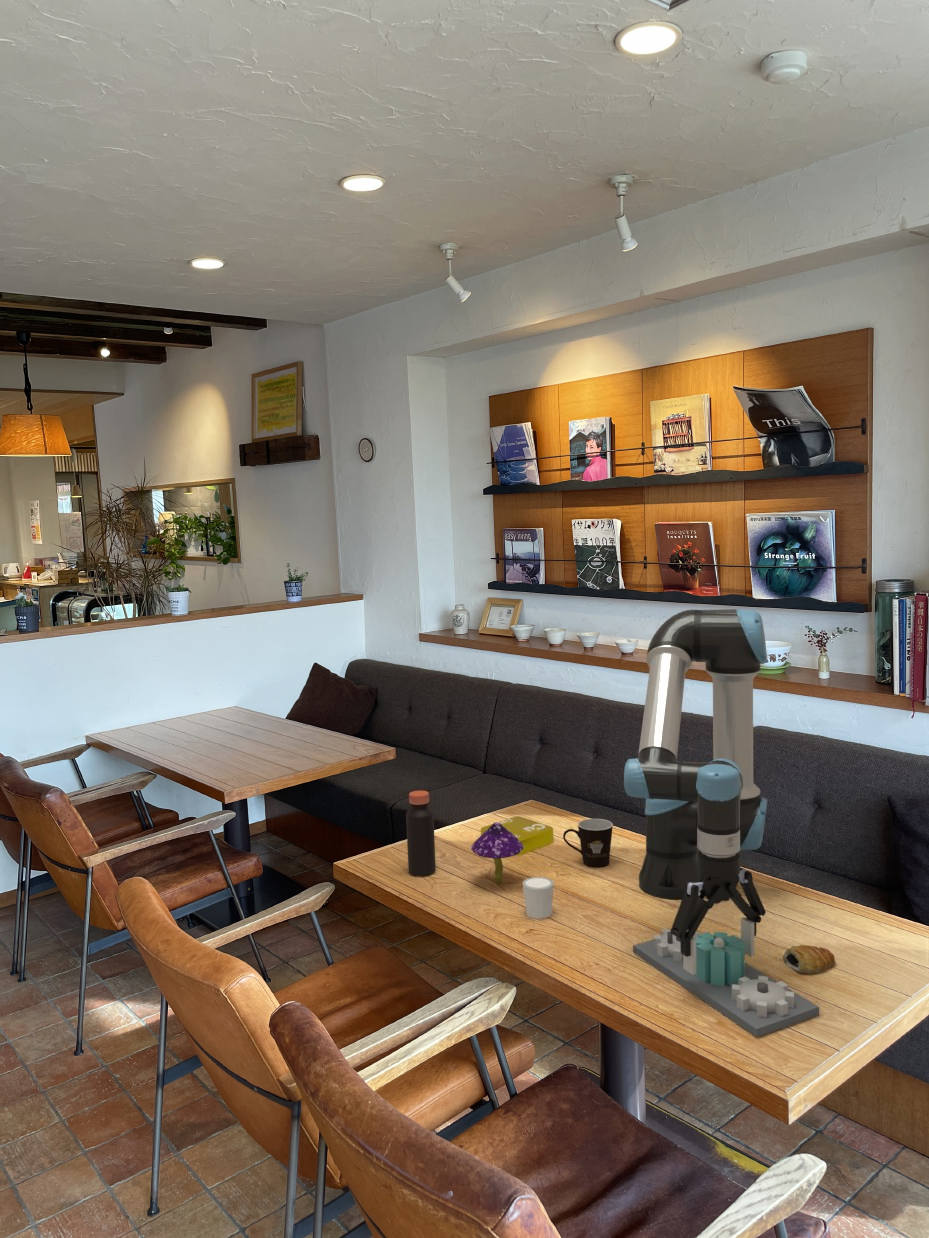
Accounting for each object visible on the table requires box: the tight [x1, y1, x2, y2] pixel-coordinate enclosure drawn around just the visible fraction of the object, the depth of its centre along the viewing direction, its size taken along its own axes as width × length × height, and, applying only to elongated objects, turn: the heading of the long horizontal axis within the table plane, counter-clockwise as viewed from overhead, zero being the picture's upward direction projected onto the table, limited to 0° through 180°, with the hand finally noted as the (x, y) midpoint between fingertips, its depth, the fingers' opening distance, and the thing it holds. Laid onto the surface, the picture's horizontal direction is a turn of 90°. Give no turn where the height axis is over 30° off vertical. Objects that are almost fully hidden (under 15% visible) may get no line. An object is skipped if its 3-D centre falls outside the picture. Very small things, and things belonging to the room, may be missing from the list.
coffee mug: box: [562, 818, 614, 869], centre depth 228 cm, size 12×9×10 cm
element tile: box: [480, 816, 555, 856], centre depth 244 cm, size 15×15×5 cm
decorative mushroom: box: [470, 821, 524, 884], centre depth 216 cm, size 12×12×15 cm
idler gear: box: [695, 931, 746, 986], centre depth 168 cm, size 9×9×6 cm
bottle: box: [405, 790, 437, 877], centre depth 225 cm, size 7×7×20 cm
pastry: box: [782, 944, 836, 975], centre depth 173 cm, size 9×7×4 cm
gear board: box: [632, 928, 820, 1038], centre depth 168 cm, size 14×34×8 cm, turn 26°
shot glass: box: [521, 876, 555, 920], centre depth 200 cm, size 7×7×7 cm
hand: (719, 962), depth 168 cm, fingers open, 13 cm apart
